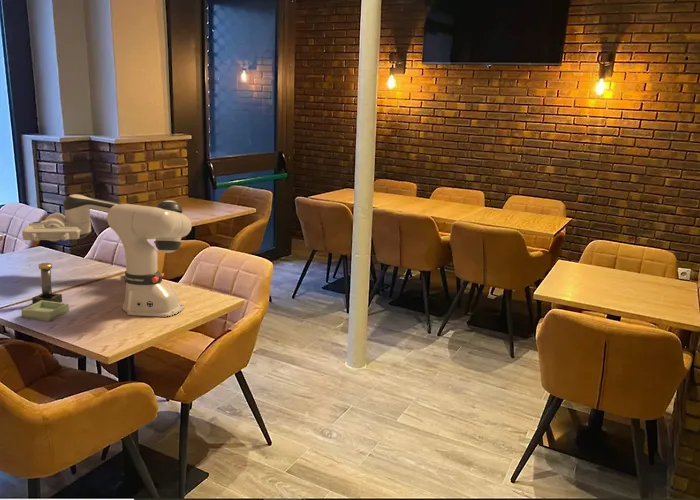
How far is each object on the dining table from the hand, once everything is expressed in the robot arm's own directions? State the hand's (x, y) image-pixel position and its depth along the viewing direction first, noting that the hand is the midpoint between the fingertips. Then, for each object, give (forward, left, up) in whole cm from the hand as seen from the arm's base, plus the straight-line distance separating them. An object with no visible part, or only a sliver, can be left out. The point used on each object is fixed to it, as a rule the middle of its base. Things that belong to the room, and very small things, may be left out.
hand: (49, 238), depth 221 cm
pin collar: (-7, +12, -22) cm, 26 cm away
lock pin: (-7, +12, -22) cm, 26 cm away
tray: (-13, +22, -22) cm, 34 cm away
